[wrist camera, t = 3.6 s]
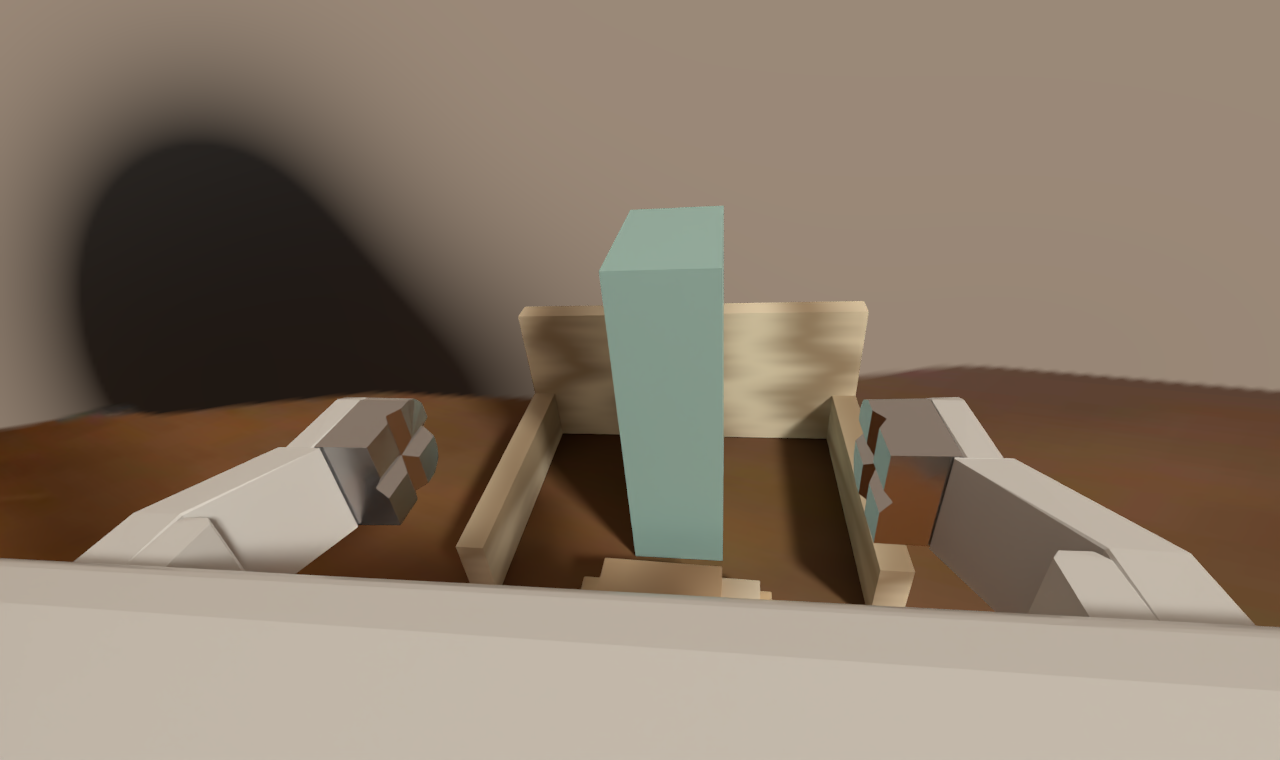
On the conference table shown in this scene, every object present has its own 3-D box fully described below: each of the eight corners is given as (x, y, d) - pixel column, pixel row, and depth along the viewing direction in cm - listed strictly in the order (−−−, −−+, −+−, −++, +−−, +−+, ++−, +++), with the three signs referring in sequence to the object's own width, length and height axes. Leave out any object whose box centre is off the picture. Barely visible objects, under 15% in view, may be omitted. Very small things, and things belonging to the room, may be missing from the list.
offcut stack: (568, 658, 22) (557, 617, 21) (587, 590, 25) (579, 549, 23) (773, 682, 21) (777, 639, 19) (770, 607, 23) (773, 564, 22)
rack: (473, 592, 25) (420, 454, 20) (549, 421, 35) (524, 306, 31) (900, 621, 22) (944, 469, 17) (844, 426, 32) (863, 301, 28)
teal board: (635, 555, 26) (598, 271, 18) (652, 456, 31) (630, 210, 24) (722, 560, 25) (722, 268, 17) (723, 458, 31) (723, 205, 23)
